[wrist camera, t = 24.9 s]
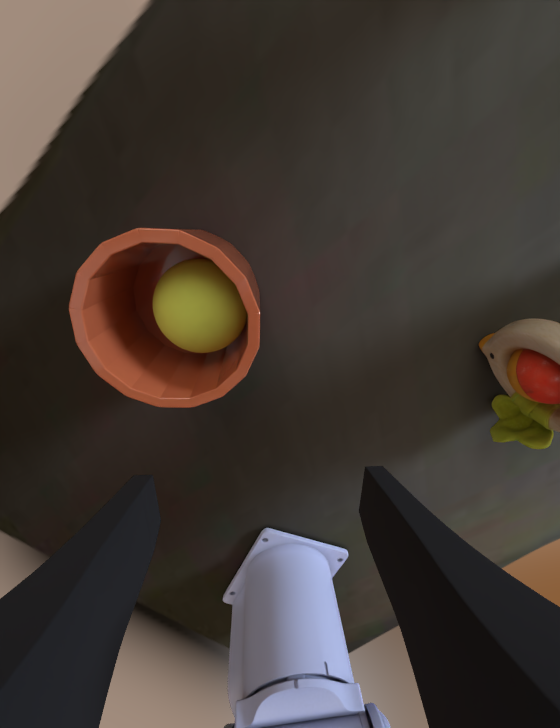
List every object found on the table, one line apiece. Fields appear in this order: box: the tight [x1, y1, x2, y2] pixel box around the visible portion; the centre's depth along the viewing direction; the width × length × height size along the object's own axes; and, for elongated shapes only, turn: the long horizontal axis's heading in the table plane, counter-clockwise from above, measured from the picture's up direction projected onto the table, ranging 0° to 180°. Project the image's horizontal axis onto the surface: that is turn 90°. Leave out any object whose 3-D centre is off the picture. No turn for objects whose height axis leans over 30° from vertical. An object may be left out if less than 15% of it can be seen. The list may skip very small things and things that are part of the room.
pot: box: [69, 228, 260, 408], centre depth 16 cm, size 7×7×6 cm
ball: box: [153, 258, 248, 353], centre depth 16 cm, size 5×5×5 cm
